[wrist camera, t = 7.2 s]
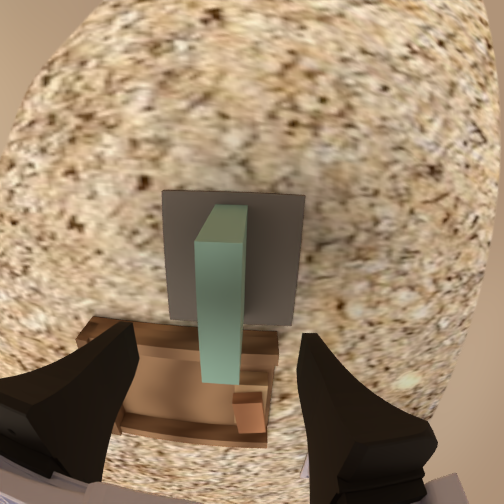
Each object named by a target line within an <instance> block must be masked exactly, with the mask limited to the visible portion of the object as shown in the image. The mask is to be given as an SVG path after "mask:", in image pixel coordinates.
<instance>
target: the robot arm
mask: <svg viewBox="0 0 504 504" xmlns="http://www.w3.org/2000/svg"><path fill="white" fill-rule="evenodd" d="M139 360H140V357H139V352H138V347H137V342H136V337H135V332H134V327H133V322H125V321H119V322H118V323H116V324H114V325H113V326H112V327H110V328H109V329H107V330H106V331H104V332H103V333H102V334H100V335H99V336H97V337H96V338H94V339H93V340H91V341H90V342H89V343H87V344H85V345H84V346H82V347H81V348H79V349H77V350H76V351H74V352H73V353H71V354H69V355H68V356H66V357H64V358H62V359H60V360H58V361H56V362H54V363H52V364H49V365H47V366H44V367H42V368H39V369H36V370H34V371H31V372H27V373H24V374H20V375H17V376H12V377H7V378H1V379H0V504H201V503H198V502H194V501H189V500H185V499H179V498H173V497H167V496H161V495H156V494H151V493H146V492H141V491H137V490H133V489H129V488H124V487H121V486H117V485H113V484H109V483H104V482H101V481H102V474H103V468H104V463H105V458H106V453H107V449H108V444H109V440H110V437H111V433H112V430H113V426H114V423H115V420H116V417H117V415H118V412H119V410H120V408H121V406H122V404H123V401H124V399H125V397H126V395H127V393H128V390H129V388H130V386H131V384H132V381H133V379H134V377H135V373H136V370H137V367H138V363H139ZM296 370H297V385H298V393H299V398H300V403H301V408H302V413H303V418H304V423H305V428H306V434H307V442H308V454H307V457H306V459H305V462H304V465H303V468H302V471H301V473H300V478H309V484H310V504H469V502H468V500H467V497H466V495H465V492H464V490H463V487H462V485H461V483H460V480H459V478H458V475H457V473H452V474H449V475H446V476H443V477H440V478H437V479H434V480H431V481H429V482H428V483H426V484H425V485H424V483H423V480H422V478H423V477H424V476H425V473H424V470H423V466H424V465H425V464H426V462H427V461H428V460H429V459H430V457H431V456H432V455H433V453H434V452H435V450H436V448H437V445H438V442H437V439H436V437H435V435H434V432H433V430H432V428H431V426H430V424H429V423H428V421H426V420H423V419H421V418H418V417H416V416H413V415H411V414H408V413H406V412H404V411H402V410H400V409H399V408H397V407H395V406H393V405H391V404H390V403H388V402H386V401H385V400H383V399H382V398H380V397H379V396H377V395H376V394H374V393H373V392H372V391H370V390H369V389H368V388H367V387H365V386H364V385H363V384H362V383H360V382H359V381H358V380H357V379H356V378H355V377H354V376H353V375H352V374H351V373H350V372H349V371H348V370H347V369H346V368H345V367H344V366H343V365H342V364H341V363H340V361H339V360H338V359H337V358H336V357H335V356H334V354H333V353H332V352H331V351H330V349H329V348H328V347H327V346H326V344H325V343H324V342H323V340H322V339H321V338H320V336H319V335H318V334H317V333H302V339H301V345H300V351H299V357H298V363H297V369H296Z"/></svg>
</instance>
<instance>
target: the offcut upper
mask: <svg viewBox="0 0 504 504" xmlns="http://www.w3.org/2000/svg"><path fill="white" fill-rule="evenodd" d="M232 406H233V410H234V415H235V419H236V423H237V427H238V432H239V433H263V432H266V430H265V415H264V407H263V399H262V392H244V393H233V400H232Z"/></svg>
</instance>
